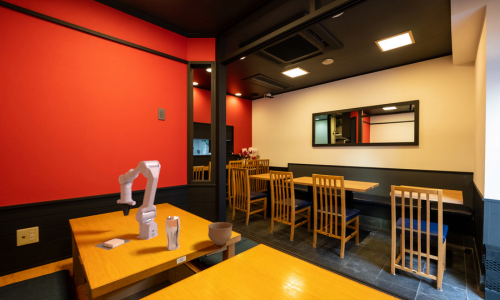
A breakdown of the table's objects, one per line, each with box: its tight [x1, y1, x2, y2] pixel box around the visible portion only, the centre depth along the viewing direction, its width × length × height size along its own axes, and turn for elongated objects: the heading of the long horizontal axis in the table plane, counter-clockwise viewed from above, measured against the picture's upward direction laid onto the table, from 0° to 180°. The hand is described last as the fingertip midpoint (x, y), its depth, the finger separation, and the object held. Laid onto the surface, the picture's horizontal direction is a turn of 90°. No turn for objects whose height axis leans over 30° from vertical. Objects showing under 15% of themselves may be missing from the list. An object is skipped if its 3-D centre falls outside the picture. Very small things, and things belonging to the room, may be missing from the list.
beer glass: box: [165, 215, 181, 251], centre depth 107 cm, size 7×7×15 cm
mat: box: [94, 237, 132, 251], centre depth 112 cm, size 12×12×1 cm
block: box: [104, 237, 124, 249], centre depth 110 cm, size 2×6×7 cm
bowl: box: [207, 221, 233, 246], centre depth 110 cm, size 13×13×10 cm
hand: (126, 215), depth 131 cm, fingers closed
